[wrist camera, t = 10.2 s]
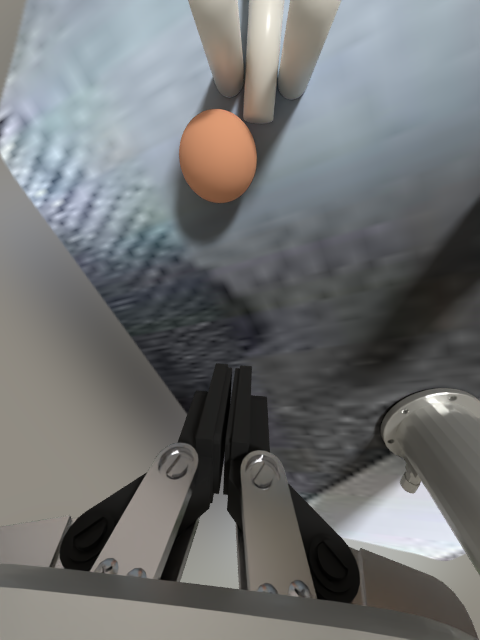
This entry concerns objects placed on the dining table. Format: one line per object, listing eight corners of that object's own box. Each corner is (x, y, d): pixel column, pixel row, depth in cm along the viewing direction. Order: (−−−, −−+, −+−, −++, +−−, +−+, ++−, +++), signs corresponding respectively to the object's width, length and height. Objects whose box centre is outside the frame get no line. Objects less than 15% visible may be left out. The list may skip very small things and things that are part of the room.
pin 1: (243, 97, 19) (234, 18, 11) (214, 96, 19) (185, 17, 11) (245, 57, 18) (236, -61, 10) (214, 56, 18) (182, -61, 10)
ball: (258, 96, 17) (274, 185, 20) (197, 129, 20) (219, 202, 23) (217, 85, 13) (245, 200, 16) (148, 128, 16) (182, 217, 19)
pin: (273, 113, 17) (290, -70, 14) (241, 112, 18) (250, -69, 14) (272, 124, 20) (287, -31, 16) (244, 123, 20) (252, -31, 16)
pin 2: (305, 100, 19) (339, 21, 11) (275, 99, 19) (289, 20, 11) (311, 59, 18) (353, -59, 10) (279, 58, 18) (297, -60, 10)
